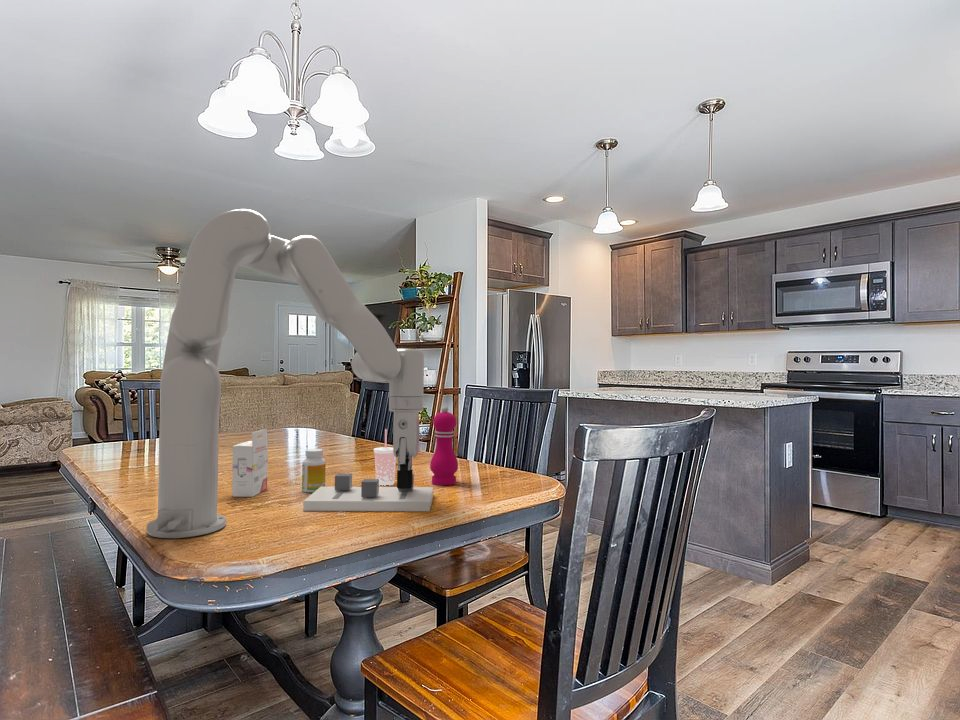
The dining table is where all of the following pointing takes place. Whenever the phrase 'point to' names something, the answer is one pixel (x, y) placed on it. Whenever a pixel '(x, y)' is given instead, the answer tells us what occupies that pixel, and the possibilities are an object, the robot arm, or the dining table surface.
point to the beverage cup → (385, 464)
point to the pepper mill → (444, 449)
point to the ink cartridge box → (250, 466)
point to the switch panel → (369, 500)
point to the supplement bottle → (313, 470)
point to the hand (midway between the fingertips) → (404, 487)
